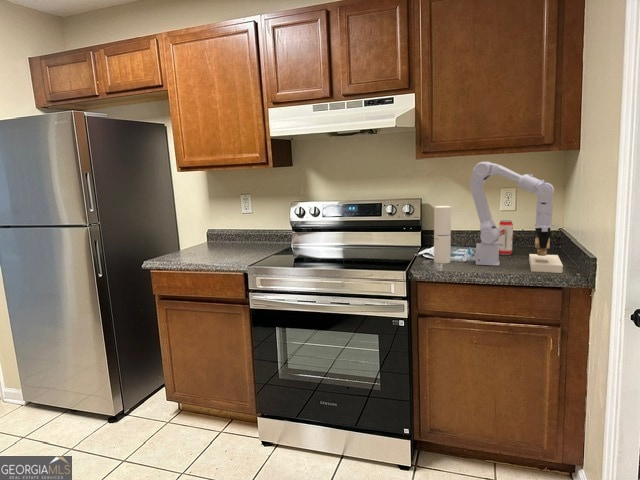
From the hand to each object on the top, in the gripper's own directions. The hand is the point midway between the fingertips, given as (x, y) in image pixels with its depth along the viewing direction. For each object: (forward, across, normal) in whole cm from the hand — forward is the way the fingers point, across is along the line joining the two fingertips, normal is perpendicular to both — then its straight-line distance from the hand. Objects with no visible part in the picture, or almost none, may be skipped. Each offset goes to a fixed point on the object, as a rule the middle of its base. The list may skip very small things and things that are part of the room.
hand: (542, 246), depth 176 cm
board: (+9, +4, -2) cm, 10 cm away
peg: (+3, 0, 0) cm, 4 cm away
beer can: (+9, +26, +14) cm, 31 cm away
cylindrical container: (+9, +3, +40) cm, 41 cm away
